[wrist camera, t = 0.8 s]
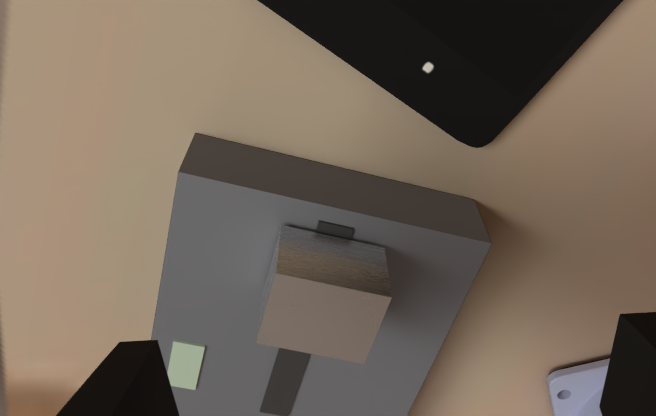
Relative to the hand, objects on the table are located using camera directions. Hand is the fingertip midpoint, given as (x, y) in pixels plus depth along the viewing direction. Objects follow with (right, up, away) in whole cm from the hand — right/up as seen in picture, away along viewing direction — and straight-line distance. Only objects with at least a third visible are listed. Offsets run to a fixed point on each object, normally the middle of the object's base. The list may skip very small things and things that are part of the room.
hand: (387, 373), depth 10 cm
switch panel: (-4, -6, +15) cm, 17 cm away
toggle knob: (-1, +1, +8) cm, 8 cm away
